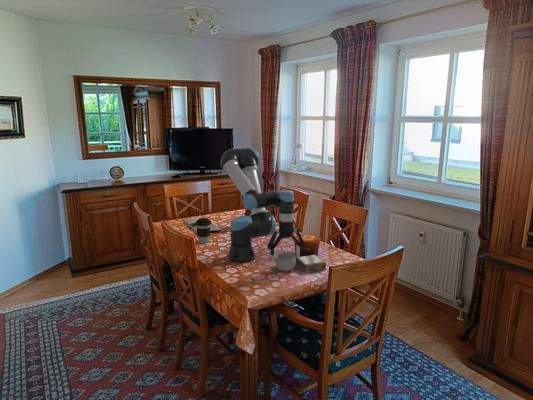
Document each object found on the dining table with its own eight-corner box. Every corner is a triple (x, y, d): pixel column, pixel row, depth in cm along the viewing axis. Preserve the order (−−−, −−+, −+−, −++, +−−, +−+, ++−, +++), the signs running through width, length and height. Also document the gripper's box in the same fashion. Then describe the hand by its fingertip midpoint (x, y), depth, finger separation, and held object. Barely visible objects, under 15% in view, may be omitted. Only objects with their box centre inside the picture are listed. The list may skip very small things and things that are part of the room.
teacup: (294, 274, 188) (294, 259, 186) (273, 272, 190) (273, 258, 188) (297, 264, 201) (297, 250, 199) (277, 262, 203) (277, 248, 201)
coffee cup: (207, 244, 231) (206, 221, 228) (193, 243, 234) (192, 220, 231) (214, 240, 240) (213, 217, 237) (201, 238, 243) (200, 216, 240)
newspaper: (184, 222, 281) (184, 219, 281) (209, 219, 290) (209, 216, 289) (199, 236, 249) (198, 232, 249) (226, 232, 258) (225, 228, 257)
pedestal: (304, 272, 189) (305, 265, 188) (295, 264, 200) (295, 256, 199) (325, 269, 193) (325, 262, 192) (315, 261, 204) (315, 254, 203)
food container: (294, 249, 223) (294, 232, 221) (320, 251, 221) (321, 233, 218) (291, 259, 208) (291, 240, 206) (320, 260, 205) (320, 242, 203)
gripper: (265, 224, 182) (266, 265, 186) (311, 219, 190) (310, 258, 195) (260, 220, 189) (261, 259, 193) (305, 216, 197) (304, 254, 201)
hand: (285, 259), depth 194 cm, fingers open, 13 cm apart
